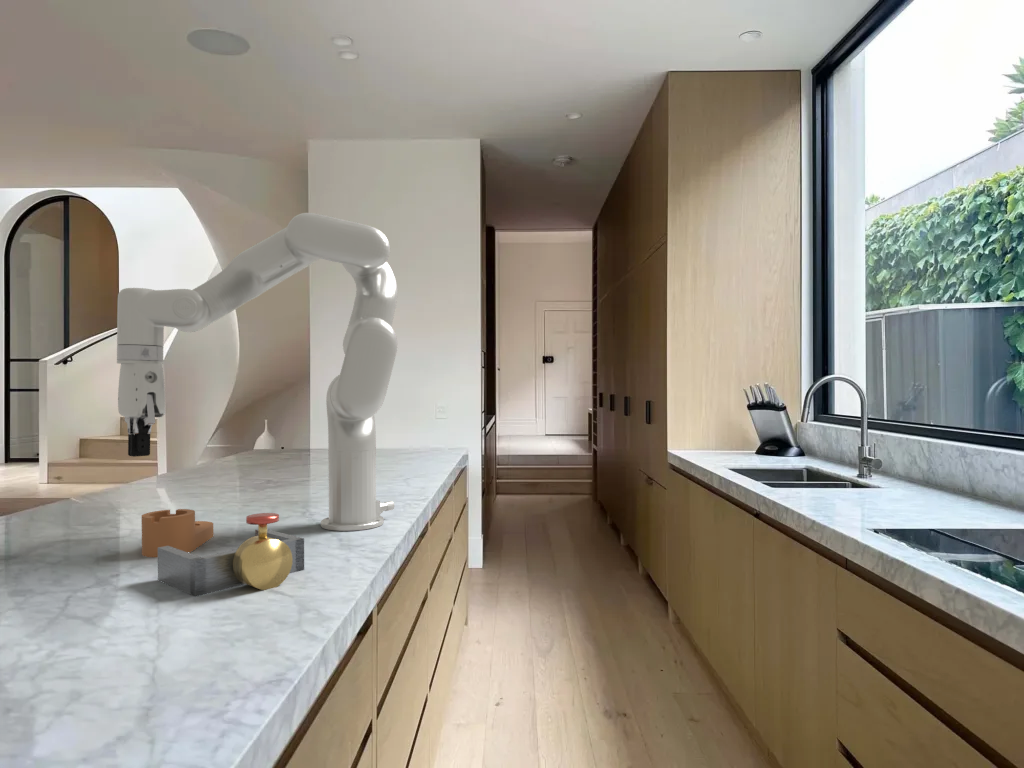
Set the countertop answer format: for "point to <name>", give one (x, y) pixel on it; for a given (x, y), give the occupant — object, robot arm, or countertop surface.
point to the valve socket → (235, 562)
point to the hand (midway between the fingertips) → (139, 455)
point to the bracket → (173, 531)
